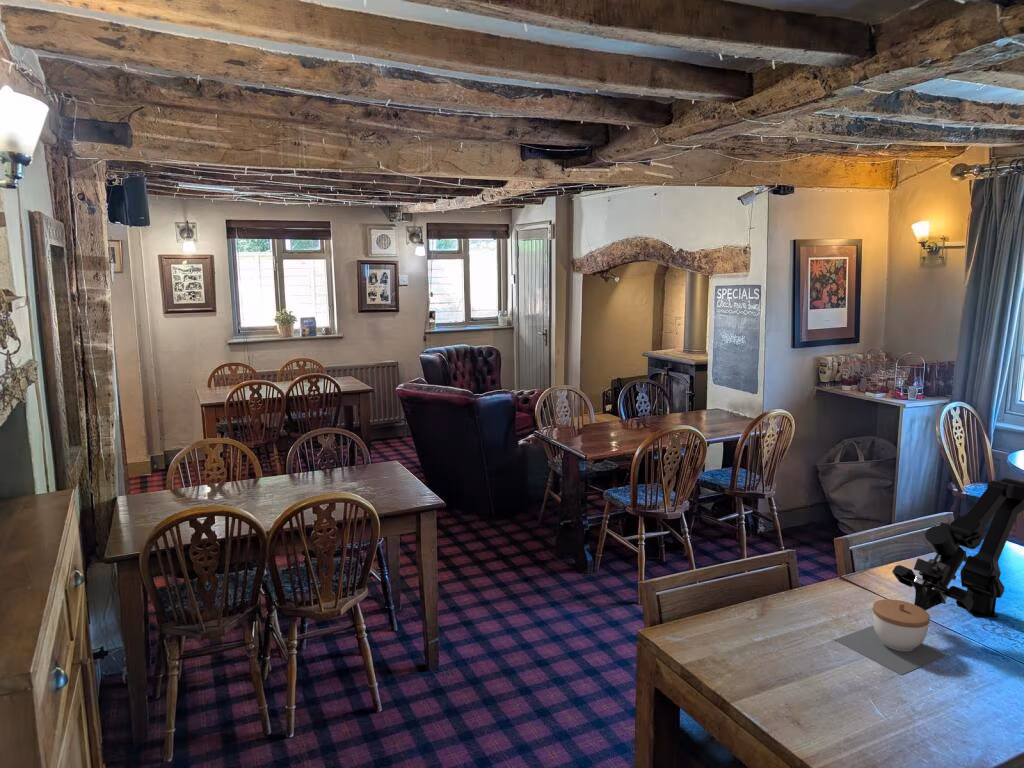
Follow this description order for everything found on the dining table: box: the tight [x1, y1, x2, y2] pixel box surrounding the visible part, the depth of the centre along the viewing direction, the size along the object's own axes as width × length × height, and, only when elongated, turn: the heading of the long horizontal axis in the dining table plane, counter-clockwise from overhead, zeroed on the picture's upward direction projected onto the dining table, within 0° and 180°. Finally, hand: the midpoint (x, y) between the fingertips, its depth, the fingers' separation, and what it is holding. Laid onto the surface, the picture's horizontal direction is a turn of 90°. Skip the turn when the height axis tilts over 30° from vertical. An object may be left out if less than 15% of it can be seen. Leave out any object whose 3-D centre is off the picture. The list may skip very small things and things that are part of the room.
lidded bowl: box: [872, 598, 931, 652], centre depth 179 cm, size 13×13×11 cm
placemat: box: [834, 625, 947, 676], centre depth 178 cm, size 18×18×1 cm
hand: (915, 613), depth 182 cm, fingers closed
